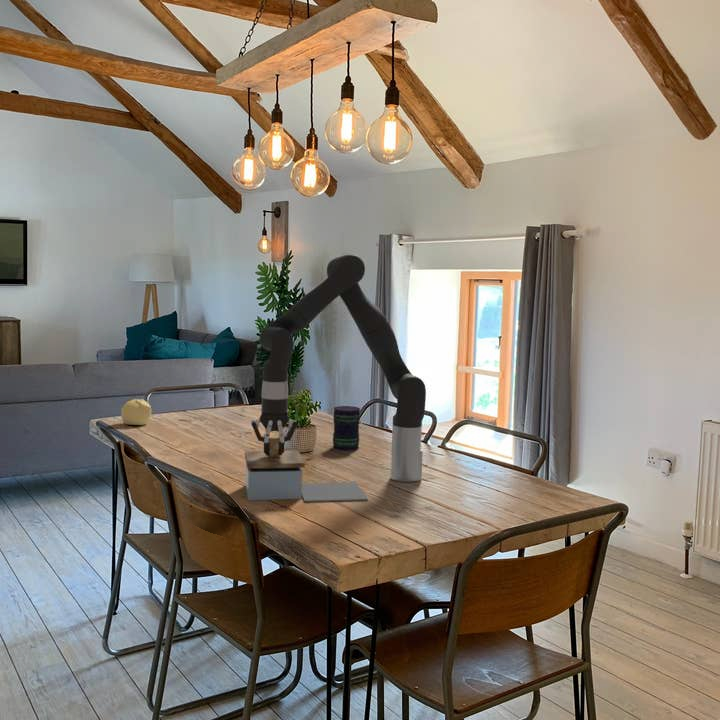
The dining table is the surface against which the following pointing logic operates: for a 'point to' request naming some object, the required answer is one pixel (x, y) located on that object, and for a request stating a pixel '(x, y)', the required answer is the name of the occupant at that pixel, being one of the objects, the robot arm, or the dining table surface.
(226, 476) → the dining table surface
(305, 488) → the mat
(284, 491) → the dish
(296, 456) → the lid
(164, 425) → the dining table surface
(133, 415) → the pale yellow rounded lump
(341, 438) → the storage jar
